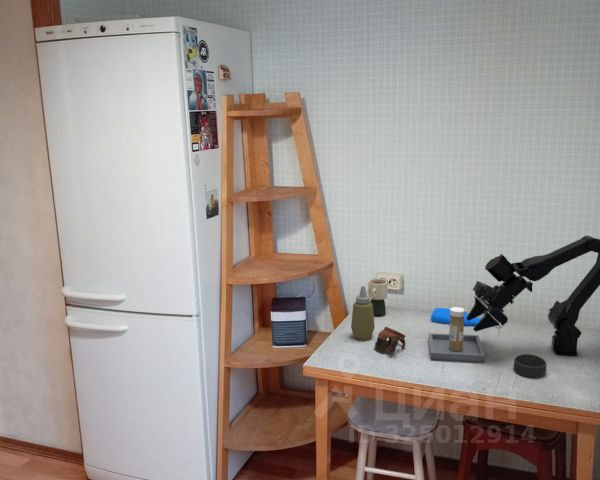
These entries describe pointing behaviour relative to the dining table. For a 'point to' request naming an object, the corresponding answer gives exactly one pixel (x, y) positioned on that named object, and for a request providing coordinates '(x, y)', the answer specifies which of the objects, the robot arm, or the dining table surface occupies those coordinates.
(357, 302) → the squeeze bottle
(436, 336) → the tray
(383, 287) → the character mug
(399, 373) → the dining table surface
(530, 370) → the smart speaker
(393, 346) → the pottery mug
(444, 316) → the spray bottle
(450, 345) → the sprinkles bottle
